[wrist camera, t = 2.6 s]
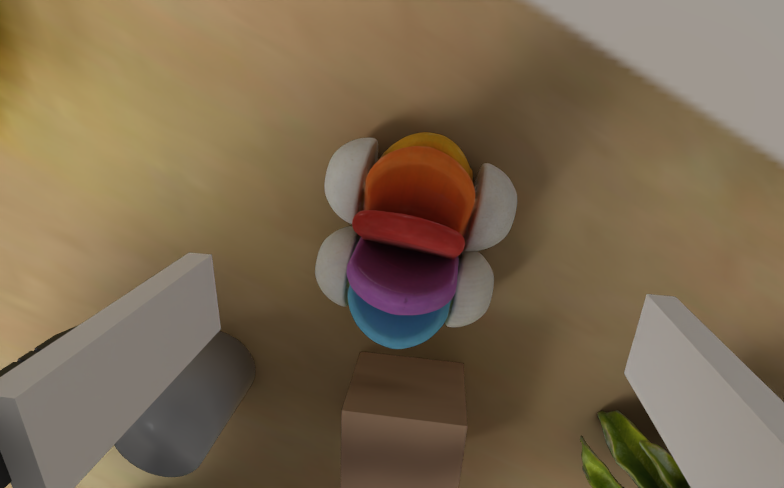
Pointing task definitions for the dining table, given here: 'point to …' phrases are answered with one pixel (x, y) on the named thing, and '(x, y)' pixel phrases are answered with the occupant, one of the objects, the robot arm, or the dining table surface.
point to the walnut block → (403, 423)
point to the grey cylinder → (190, 410)
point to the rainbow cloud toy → (412, 236)
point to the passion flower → (631, 457)
